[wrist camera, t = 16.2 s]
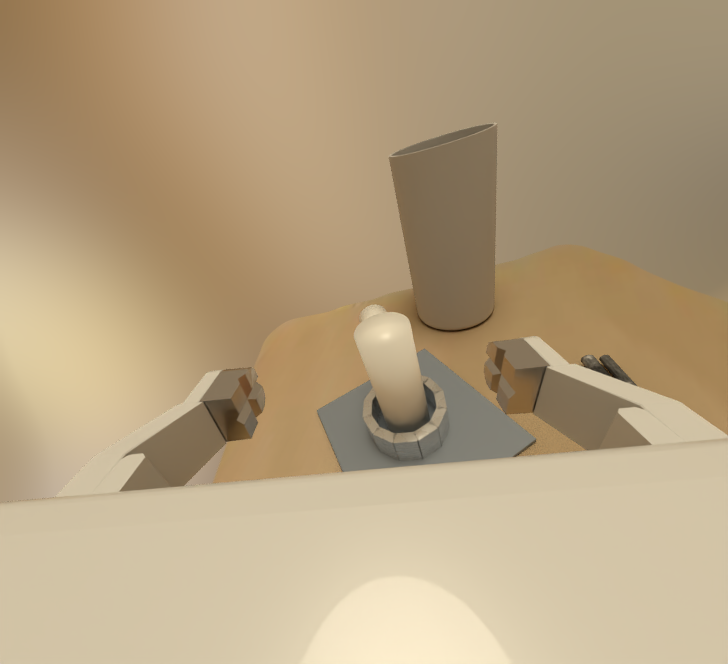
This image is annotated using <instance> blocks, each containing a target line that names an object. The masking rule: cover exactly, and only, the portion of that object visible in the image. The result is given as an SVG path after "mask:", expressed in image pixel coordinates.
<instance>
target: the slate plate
mask: <svg viewBox="0 0 728 664" xmlns="http://www.w3.org/2000/svg"><path fill="white" fill-rule="evenodd" d="M417 358H418V363H419V368H420V372H421V375H423V376H426V377H429V378H431V379H432V380H433V381H434V382H435V383H436V384H437V385H438V386H439V387H440V388H441V389H443V392H444V397H445V401H446V406H447V412H448V419H449V426H450V429H449V431H448V433H447V436H446V438H445V440H444V443H443V445H442V446H441V448H439V449H438V450H436V451H435V452H433V453H432V454H430V455H429V456H427V457H426V458H424V459H423V458H422V460H409V461H400V460H399V461H398V460H396V459H394V458H392V457H390V456H388V455H386V454H384V453H382V452H381V451H380V450H379V449H378V447H377V445H376V444H375V442H374V440H373V439H372V437H371V435H370V433H369V431H368V428H367V426H366V424H365V422H364V420H363V406H364V399H365V398H366V396H367V395H368V393H369V392H370V391H371V389H372V388H373V387H372V384H371V381H370V380H369V381H367V382H366V383H364V384H362V385H360V386H359V387H357V388H355V389H353V390H352V391H350V392H348V393H346V394H345V395H343V396H341V397H339V398H338V399H336V400H334V401H332V402H331V403H329V404H327V405H325V406H324V407H322V408H320V409H318V410H317V412H318V415H319V417H320V419H321V422H322V424H323V426H324V429H325V431H326V433H327V436H328V438H329V440H330V443H331V445H332V447H333V450H334V452H335V454H336V457H337V459H338V461H339V464H340V466H341V468H342V471H343V472H348V471H359V470H370V469H382V468H393V467H405V466H416V465H427V464H439V463H450V462H461V461H473V460H484V459H496V458H507V457H516V456H517V455H519V454H520V453H521V452H523V451H524V450H525V449H527V448H528V447H529V446H531V445H532V444H533V443H535V442H536V438H534V437H533V436H532V435H531V434H529V433H528V432H527V431H526V430H524V429H523V428H522V427H521V426H520V425H518V424H517V423H516V422H515V421H513V420H512V419H511V418H510V417H508V416H507V415H506V414H505V413H503V412H502V411H501V410H500V409H498V408H497V407H496V406H495V405H494V404H492V403H491V402H490V401H489V400H487V399H486V398H485V397H484V396H482V395H481V394H480V393H479V392H477V391H476V390H475V389H474V388H473V387H471V386H470V385H469V384H468V383H466V382H465V381H464V380H463V379H461V378H460V377H459V376H458V375H456V374H455V373H454V372H453V371H452V370H450V369H449V368H448V367H447V366H445V365H444V364H443V363H442V362H440V361H439V360H438V359H437V358H435V357H434V356H433V355H432V354H431V353H429V352H428V351H427V350H426V349H423V350H421V351H420V352H418V353H417ZM427 406H428V410H429V415H430V420H431V418H432V416H433V414H434V412H435V409H434V408H433V407H432V406H431V405H430V404H429V403H428V402H427ZM379 427H381V428H383V429H386V430H388V431H389V429H388V427H387V424H386V421H385V419H384V416H383V413H382V415H381V417H380V418H379Z"/></svg>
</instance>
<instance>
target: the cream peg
mask: <svg viewBox="0 0 728 664" xmlns="http://www.w3.org/2000/svg"><path fill="white" fill-rule="evenodd" d="M359 321H360V324H359V325H358V326H357V328H356V329H355V332H354V339H355V341H356V344H357V347H358V349H359V352H360V355H361V357H362V360H363V363H364V365H365V368H366V371H367V373H368V376H369V379H370V381H371V384H372V387H373V389H374V392H375V395H376V397H377V400H378V403H379V405H380V408H381V411H382V413H383V416H384V419H385V421H386V424H387V427H388V429H389V431H390V432H393V433H395V434H397V433H407V432H415V431H416V430H418V429H419V428H421V427H422V426H424V425H425V424H427V423H429V422H430V415H429V410H428V406H427V401H426V396H425V391H424V387H423V382H422V377H421V372H420V368H419V363H418V358H417V353H416V349H415V344H414V339H413V334H412V330H411V325H410V321H409V319H408V318H407V317H406V316H405V315H403V314H400V313H396V312H387V311H386V310H385V308H384V307H382V306H380V305H370V306H368V307H366V308H365V309H364V310H363V311H362V312H361V314H360V316H359Z"/></svg>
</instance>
